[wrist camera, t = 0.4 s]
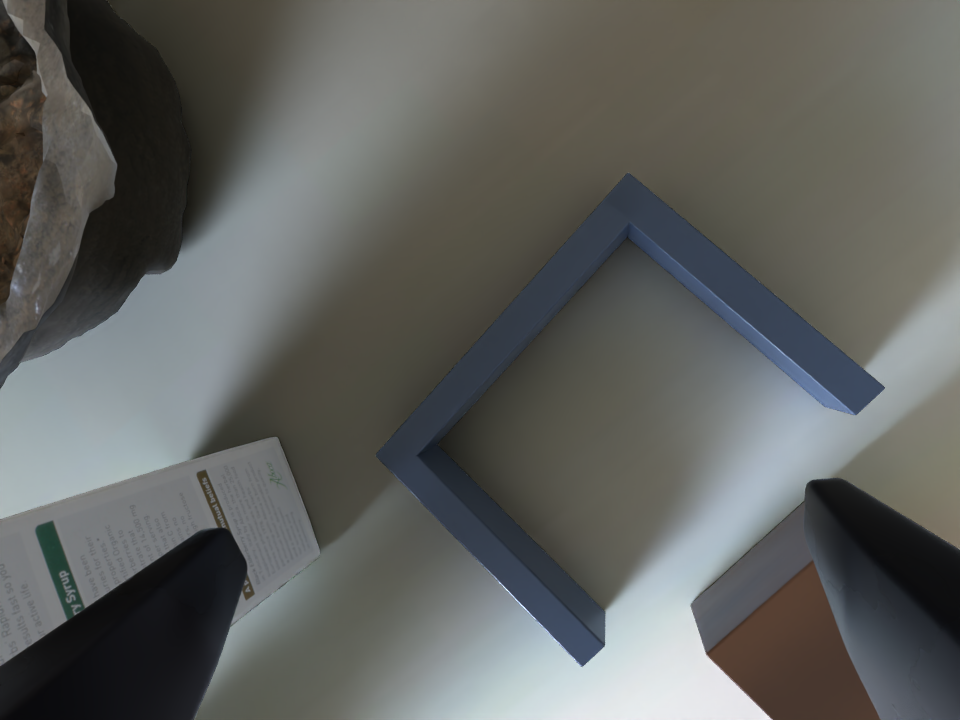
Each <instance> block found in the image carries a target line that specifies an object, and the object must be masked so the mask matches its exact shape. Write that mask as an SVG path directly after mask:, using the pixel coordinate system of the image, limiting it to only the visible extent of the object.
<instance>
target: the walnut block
mask: <svg viewBox="0 0 960 720" xmlns="http://www.w3.org/2000/svg"><path fill="white" fill-rule="evenodd" d="M804 506H805V501H804V502H803V503H802V504H801V505H800V506H799V507H797V508H796V509H795V510H794V511H793V512H792V513H791V514H790V515H789V516H788V517H786V518H785V519H784V520H783V521H782V522H781V523H780V524H779V525H778V526H777V527H775V528H774V529H773V530H772V531H771V532H770V533H769V534H768V535H767V536H765V537H764V538H763V539H762V540H761V541H760V542H759V543H758V544H757V545H756V546H754V547H753V548H752V549H751V550H750V551H749V552H748V553H747V554H746V555H745V556H743V557H742V558H741V559H740V560H739V561H738V562H737V563H736V564H735V565H733V566H732V567H731V568H730V569H729V570H728V571H727V572H726V573H725V574H724V575H722V576H721V577H720V578H719V579H718V580H717V581H716V582H715V583H714V584H712V585H711V586H710V587H709V588H708V589H707V590H706V591H705V592H704V593H703V594H701V595H700V596H699V597H698V598H697V599H696V600H695V601H694V602H693V603H692V604H691V608H692V612H693V615H694V618H695V621H696V624H697V627H698V630H699V633H700V637H701V640H702V643H703V646H704V649H705V652H706V655H707V656H708V657H709V658H710V659H711V660H712V661H713V662H714V663H715V664H716V665H717V666H718V667H719V668H720V669H721V670H722V671H723V672H724V673H725V674H726V675H727V676H728V677H729V678H730V679H731V680H732V681H733V682H734V683H735V684H736V685H737V686H738V687H739V688H740V689H741V690H742V691H744V692H745V693H746V694H747V695H748V696H749V697H750V698H751V699H752V700H753V701H754V702H755V703H756V704H757V705H758V706H759V707H760V708H761V709H762V710H763V711H764V712H765V713H766V714H767V715H768V716H769V717H770V718H771V719H772V720H881V719H880V717H879V715H878V713H877V711H876V709H875V707H874V705H873V703H872V701H871V699H870V697H869V695H868V693H867V691H866V689H865V687H864V685H863V683H862V681H861V679H860V677H859V675H858V673H857V671H856V669H855V667H854V665H853V662H852V660H851V658H850V656H849V654H848V652H847V649H846V647H845V644H844V642H843V639H842V637H841V634H840V631H839V629H838V626H837V623H836V621H835V618H834V615H833V612H832V610H831V607H830V604H829V602H828V599H827V596H826V594H825V591H824V588H823V585H822V583H821V580H820V577H819V575H818V572H817V569H816V567H815V564H814V561H813V558H812V556H811V553H810V550H809V548H808V545H807V542H806V538H805V534H804Z"/></svg>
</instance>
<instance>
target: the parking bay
mask: <svg viewBox="0 0 960 720" xmlns="http://www.w3.org/2000/svg"><path fill="white" fill-rule="evenodd" d="M627 237H628V238H629V239H630V240H631V241H633V242H634V243H635V244H636V245H637V246H638V247H640V248H641V249H642V250H643V251H644V252H645V253H647V254H648V255H649V256H650V257H651V258H652V259H654V260H655V261H656V262H657V263H658V264H659V265H661V266H662V267H663V268H664V269H665V270H666V271H667V272H669V273H670V274H671V275H672V276H673V277H674V278H676V279H677V280H678V281H679V282H680V283H681V284H683V285H684V286H685V287H686V288H687V289H688V290H690V291H691V292H692V293H693V294H694V295H695V296H697V297H698V298H699V299H700V300H701V301H702V302H704V303H705V304H706V305H707V306H708V307H709V308H710V309H712V310H713V311H714V312H715V313H716V314H717V315H719V316H720V317H721V318H722V319H723V320H724V321H726V322H727V323H728V324H729V325H730V326H731V327H733V328H734V329H735V330H736V331H737V332H738V333H740V334H741V335H742V336H743V337H744V338H745V339H747V340H748V341H749V342H750V343H751V344H752V345H754V346H755V347H756V348H757V349H758V350H759V351H760V352H762V353H763V354H764V355H765V356H766V357H767V358H769V359H770V360H771V361H772V362H773V363H774V364H776V365H777V366H778V367H779V368H780V369H781V370H783V371H784V372H785V373H786V374H787V375H788V376H790V377H791V378H792V379H793V380H794V381H795V382H797V383H798V384H799V385H800V386H801V387H802V388H803V389H805V390H806V391H807V392H808V393H809V394H810V395H812V396H813V397H814V398H815V399H816V400H817V401H819V402H820V403H821V404H822V405H823V406H824V407H828V408H831V409H835V410H838V411H842V412H845V413H849V414H852V415H857V414H858V413H859V412H860V411H861V410H862V409H863V408H864V407H866V406H867V405H868V404H869V403H870V402H871V401H872V400H873V399H874V398H875V397H876V396H877V395H879V394H880V393H881V392H882V391H883V390H884V389H885V387H884V386H883V385H882V384H881V383H879V382H878V381H877V380H876V379H875V378H873V377H872V376H871V375H870V374H869V373H867V372H866V371H865V370H864V369H863V368H861V367H860V366H859V365H858V364H857V363H855V362H854V361H853V360H852V359H851V358H850V357H848V356H847V355H846V354H845V353H844V352H842V351H841V350H840V349H839V348H838V347H836V346H835V345H834V344H833V343H832V342H830V341H829V340H828V339H827V338H826V337H824V336H823V335H822V334H821V333H820V332H818V331H817V330H816V329H815V328H814V327H813V326H811V325H810V324H809V323H808V322H807V321H805V320H804V319H803V318H802V317H801V316H799V315H798V314H797V313H796V312H795V311H793V310H792V309H791V308H790V307H789V306H787V305H786V304H785V303H784V302H783V301H781V300H780V299H779V298H778V297H777V296H775V295H774V294H773V293H772V292H771V291H770V290H768V289H767V288H766V287H765V286H764V285H762V284H761V283H760V282H759V281H758V280H756V279H755V278H754V277H753V276H752V275H750V274H749V273H748V272H747V271H746V270H744V269H743V268H742V267H741V266H740V265H738V264H737V263H736V262H735V261H734V260H733V259H731V258H730V257H729V256H728V255H727V254H725V253H724V252H723V251H722V250H721V249H719V248H718V247H717V246H716V245H715V244H713V243H712V242H711V241H710V240H709V239H707V238H706V237H705V236H704V235H703V234H701V233H700V232H699V231H698V230H697V229H695V228H694V227H693V226H692V225H691V224H690V223H688V222H687V221H686V220H685V219H684V218H682V217H681V216H680V215H679V214H678V213H676V212H675V211H674V210H673V209H672V208H670V207H669V206H668V205H667V204H666V203H664V202H663V201H662V200H661V199H660V198H658V197H657V196H656V195H655V194H654V193H653V192H651V191H650V190H649V189H648V188H647V187H645V186H644V185H643V184H642V183H641V182H639V181H638V180H637V179H636V178H635V177H633V176H632V175H631V174H630V173H627V174H626V175H625V176H624V177H623V178H622V180H621V181H620V182H619V183H618V184H617V185H616V186H615V187H614V188H613V190H612V191H611V192H610V193H609V194H608V195H607V196H606V197H605V199H604V200H603V201H602V202H601V203H600V204H599V205H598V207H597V208H596V209H595V210H594V211H593V212H592V213H591V214H590V216H589V217H588V218H587V219H586V220H585V221H584V222H583V223H582V224H581V226H580V227H579V228H578V229H577V230H576V231H575V232H574V233H573V234H572V236H571V237H570V238H569V239H568V240H567V241H566V242H565V243H564V245H563V246H562V247H561V248H560V249H559V250H558V251H557V252H556V253H555V255H554V256H553V257H552V258H551V259H550V260H549V261H548V262H547V264H546V265H545V266H544V267H543V268H542V269H541V270H540V271H539V272H538V274H537V275H536V276H535V277H534V278H533V279H532V280H531V281H530V283H529V284H528V285H527V286H526V287H525V288H524V289H523V290H522V291H521V293H520V294H519V295H518V296H517V297H516V298H515V299H514V300H513V301H512V303H511V304H510V305H509V306H508V307H507V308H506V309H505V310H504V312H503V313H502V314H501V315H500V316H499V317H498V318H497V319H496V320H495V322H494V323H493V324H492V325H491V326H490V327H489V328H488V329H487V331H486V332H485V333H484V334H483V335H482V336H481V337H480V338H479V339H478V341H477V342H476V343H475V344H474V345H473V346H472V347H471V348H470V349H469V351H468V352H467V353H466V354H465V355H464V356H463V357H462V358H461V360H460V361H459V362H458V363H457V364H456V365H455V366H454V367H453V368H452V370H451V371H450V372H449V373H448V374H447V375H446V376H445V377H444V379H443V380H442V381H441V382H440V383H439V384H438V385H437V386H436V387H435V389H434V390H433V391H432V392H431V393H430V394H429V395H428V396H427V398H426V399H425V400H424V401H423V402H422V403H421V404H420V405H419V406H418V408H417V409H416V410H415V411H414V412H413V413H412V414H411V415H410V416H409V418H408V419H407V420H406V421H405V422H404V423H403V424H402V425H401V427H400V428H399V429H398V430H397V431H396V432H395V433H394V434H393V435H392V437H391V438H390V439H389V440H388V441H387V442H386V443H385V444H384V446H383V447H382V448H381V449H380V450H379V451H378V452H377V453H376V457H377V458H378V459H379V460H380V461H381V462H382V463H383V464H384V465H385V466H386V467H387V468H388V469H389V470H390V471H391V472H392V473H393V474H394V475H395V476H396V477H397V478H398V479H399V480H400V482H401V483H402V484H403V485H404V486H405V487H406V488H407V489H408V490H409V491H410V492H411V493H412V494H413V495H414V496H415V497H416V498H417V499H418V500H419V501H420V502H421V503H422V504H423V505H424V506H425V507H426V508H427V509H428V510H429V511H430V512H431V513H432V514H433V515H434V516H435V517H436V518H437V519H438V520H439V521H440V523H441V524H442V525H443V526H444V527H445V528H446V529H447V530H448V531H449V532H450V533H451V534H452V535H453V536H454V537H455V538H456V539H457V540H458V541H459V542H460V543H461V544H462V545H463V546H464V547H465V548H466V549H467V550H468V551H469V552H470V553H471V554H472V555H473V556H474V557H475V558H476V559H477V560H478V561H479V563H480V564H481V565H482V566H483V567H484V568H485V569H486V570H487V571H488V572H489V573H490V574H491V575H492V576H493V577H494V578H495V579H496V580H497V581H498V582H499V583H500V584H501V585H502V586H503V587H504V588H505V589H506V590H507V591H508V592H509V593H510V594H511V595H512V596H513V597H514V598H515V599H516V600H517V601H518V602H519V604H520V605H521V606H522V607H523V608H524V609H525V610H526V611H527V612H528V613H529V614H530V615H531V616H532V617H533V618H534V619H535V620H536V621H537V622H538V623H539V624H540V625H541V626H542V627H543V628H544V629H545V630H546V631H547V632H548V633H549V634H550V635H551V636H552V637H553V638H554V639H555V640H556V641H557V642H558V643H559V645H560V646H561V647H562V648H563V649H564V650H565V651H566V652H567V653H568V654H569V655H570V656H571V657H572V658H573V659H574V660H575V661H576V662H577V663H578V664H579V665H580V666H581V667H582V666H584V665H585V664H586V663H587V662H588V661H589V660H590V659H591V658H593V657H594V656H595V655H596V654H597V653H598V652H599V651H600V650H601V649H602V648H603V647H604V646H605V611H604V610H603V609H602V608H601V607H600V606H599V605H598V604H597V603H596V602H595V601H594V600H593V599H592V598H591V597H590V596H589V595H588V594H587V593H586V592H585V591H584V590H583V589H582V588H581V587H580V586H579V585H578V584H577V583H576V582H575V581H574V580H573V579H572V578H570V577H569V576H568V575H567V574H566V573H565V572H564V571H563V570H562V569H561V568H560V567H559V566H558V565H557V564H556V563H555V562H554V561H553V560H552V559H551V558H550V557H549V556H548V555H547V554H546V553H545V552H544V551H543V550H542V549H541V548H540V547H539V546H538V545H537V544H536V543H535V542H534V541H533V540H532V539H531V538H530V537H529V536H528V535H527V534H526V533H525V532H524V531H523V530H522V529H521V528H520V527H519V526H518V525H517V524H516V523H515V522H514V521H513V520H512V519H511V518H510V517H509V516H508V515H507V514H506V513H505V512H504V511H503V510H502V509H501V508H500V507H499V506H498V505H497V504H496V503H495V502H494V501H493V500H492V499H491V498H490V497H489V496H488V495H487V494H486V493H485V492H484V491H483V490H482V489H481V488H480V487H479V486H478V485H477V484H476V483H475V482H474V481H473V480H472V479H471V478H470V477H469V476H468V475H467V474H466V473H465V472H464V471H463V470H462V469H461V468H460V467H459V466H458V465H457V464H456V463H455V462H454V461H453V460H452V459H451V458H450V457H449V456H448V455H447V454H446V453H445V452H444V451H443V450H442V449H441V448H440V447H439V446H438V445H437V444H438V443H439V442H440V440H441V439H442V438H443V437H444V436H445V435H446V434H447V433H448V432H449V431H450V430H451V428H452V427H453V426H454V425H455V424H456V423H457V422H458V421H459V420H460V419H461V418H462V416H463V415H464V414H465V413H466V412H467V411H468V410H469V409H470V408H471V407H472V406H473V405H474V403H475V402H476V401H477V400H478V399H479V398H480V397H481V396H482V395H483V394H484V393H485V391H486V390H487V389H488V388H489V387H490V386H491V385H492V384H493V383H494V382H495V381H496V379H497V378H498V377H499V376H500V375H501V374H502V373H503V372H504V371H505V370H506V369H507V367H508V366H509V365H510V364H511V363H512V362H513V361H514V360H515V359H516V358H517V357H518V355H519V354H520V353H521V352H522V351H523V350H524V349H525V348H526V347H527V346H528V345H529V344H530V342H531V341H532V340H533V339H534V338H535V337H536V336H537V335H538V334H539V333H540V332H541V330H542V329H543V328H544V327H545V326H546V325H547V324H548V323H549V322H550V321H551V320H552V318H553V317H554V316H555V315H556V314H557V313H558V312H559V311H560V310H561V309H562V308H563V306H564V305H565V304H566V303H567V302H568V301H569V300H570V299H571V298H572V297H573V296H574V295H575V293H576V292H577V291H578V290H579V289H580V288H581V287H582V286H583V285H584V284H585V283H586V281H587V280H588V279H589V278H590V277H591V276H592V275H593V274H594V273H595V272H596V271H597V269H598V268H599V267H600V266H601V265H602V264H603V263H604V262H605V261H606V260H607V259H608V257H609V256H610V255H611V254H612V253H613V252H614V251H615V250H616V249H617V248H618V247H619V246H620V244H621V243H622V242H623V241H624V240H625V239H626V238H627Z"/></svg>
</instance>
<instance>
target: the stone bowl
mask: <svg viewBox="0 0 960 720" xmlns="http://www.w3.org/2000/svg"><path fill="white" fill-rule="evenodd" d="M181 113H182V110H181V103H180V97H179V94H178V90H177V86H176V83H175V80H174V78H173V77H172V75H171V73H170V71H169V69H168V68H167V66H166V65H165V63H164V62H163V60H162V58H161V57H160V55H159V53H158V50H157V49H156V48H155V47H153V46H152V45H151V44H150V43H149V42H147V41H146V40H145V39H144V38H142V37H141V36H140V35H139V34H137V33H136V32H135V31H134V30H133V29H132V28H131V27H130V26H129V25H128V24H127V23H126V22H125V21H123V20H122V19H121V18H120V17H119V16H117V15H116V13H115V12H114V11H113V10H112V8H111V7H110V5H109V3H108V2H107V1H106V0H0V388H1V387H2V386H3V384H4V382H5V380H6V378H7V376H8V375H9V374H10V373H11V372H13V371H14V370H15V369H16V368H17V367H18V365H19V364H20V363H21V362H24V361H27V360H31V359H34V358H37V357H40V356H43V355H46V354H48V353H50V352H52V351H53V350H56V349H59V348H60V347H62V346H63V345H64V344H65V343H66V342H67V341H68V340H70V339H72V338H74V337H77V336H81V335H82V334H84V333H85V332H86V331H88V330H90V329H92V328H94V327H96V326H97V325H99V324H100V323H102V322H104V321H105V320H107V319H108V318H109V317H110V316H112V315H113V314H115V313H116V312H118V310H119V309H120V307H121V306H122V304H123V303H124V302H125V300H126V299H127V297H128V296H129V294H130V293H131V292H132V291H133V289H134V288H135V287H136V286H137V284H138V283H139V281H140V279H141V278H142V277H143V276H144V275H145V274H161V273H163V272H165V271H167V270H169V269H171V268H172V266H173V265H174V264H175V262H176V261H177V257H178V254H179V251H180V247H181V242H182V217H183V211H184V209H185V208H186V204H187V183H188V179H189V174H190V158H191V147H190V144H189V141H188V138H187V135H186V133H185V130H184V128H183V126H182V123H181Z"/></svg>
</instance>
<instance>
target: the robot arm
mask: <svg viewBox="0 0 960 720" xmlns="http://www.w3.org/2000/svg"><path fill="white" fill-rule="evenodd" d="M804 534H805V538H806V542H807V545H808V548H809V550H810V553H811V556H812V558H813V561H814V564H815V567H816V569H817V572H818V575H819V577H820V580H821V583H822V585H823V588H824V591H825V594H826V596H827V599H828V602H829V604H830V607H831V610H832V612H833V615H834V618H835V621H836V623H837V626H838V629H839V631H840V634H841V637H842V639H843V642H844V644H845V647H846V649H847V652H848V654H849V656H850V658H851V660H852V662H853V665H854V667H855V669H856V671H857V673H858V675H859V677H860V679H861V681H862V683H863V685H864V687H865V689H866V691H867V693H868V695H869V697H870V699H871V701H872V703H873V705H874V707H875V709H876V711H877V713H878V715H879V717H880V719H881V720H960V549H958V548H956V547H955V546H953V545H951V544H950V543H948V542H946V541H945V540H943V539H941V538H940V537H938V536H936V535H935V534H933V533H932V532H930V531H928V530H927V529H925V528H923V527H922V526H920V525H918V524H917V523H915V522H913V521H912V520H910V519H909V518H907V517H905V516H904V515H902V514H900V513H899V512H897V511H895V510H894V509H892V508H890V507H889V506H887V505H885V504H884V503H882V502H881V501H879V500H877V499H876V498H874V497H872V496H871V495H869V494H867V493H866V492H864V491H862V490H861V489H859V488H858V487H856V486H854V485H853V484H851V483H849V482H848V481H846V480H844V479H841V478H830V479H817V480H811V481H809V482H808V483H807V486H806V489H805V506H804ZM247 571H248V568H247V562H246V559H245V557H244V555H243V554H242V552H241V550H240V548H239V546H238V544H237V543H236V541H235V539H234V537H233V535H232V534H231V532H230V531H229V530H228V529H226V528H223V527H218V528H206V529H202V530H200V531H198V532H196V533H195V534H194V535H192V536H191V537H189V538H188V539H186V540H185V541H183V542H182V543H180V544H179V545H177V546H176V547H174V548H173V549H171V550H170V551H169V552H167V553H166V554H164V555H163V556H161V557H160V558H158V559H157V560H155V561H154V562H152V563H151V564H149V565H148V566H146V567H145V568H144V569H142V570H141V571H139V572H138V573H136V574H135V575H133V576H132V577H130V578H129V579H127V580H126V581H124V582H123V583H121V584H120V585H119V586H117V587H116V588H114V589H113V590H111V591H110V592H108V593H107V594H105V595H104V596H102V597H101V598H99V599H98V600H96V601H95V602H94V603H92V604H91V605H89V606H88V607H86V608H85V609H83V610H82V611H80V612H79V613H77V614H76V615H74V616H73V617H71V618H70V619H69V620H67V621H66V622H64V623H63V624H61V625H60V626H58V627H57V628H55V629H54V630H52V631H51V632H49V633H48V634H46V635H45V636H43V637H42V638H41V639H39V640H38V641H36V642H35V643H33V644H32V645H30V646H29V647H27V648H26V649H24V650H23V651H21V652H20V653H18V654H17V655H16V656H14V657H13V658H11V659H10V660H8V661H7V662H5V663H4V664H2V665H1V666H0V720H194V719H195V716H196V714H197V712H198V709H199V707H200V705H201V702H202V700H203V698H204V695H205V693H206V691H207V688H208V686H209V684H210V682H211V679H212V677H213V674H214V672H215V669H216V667H217V664H218V661H219V658H220V656H221V653H222V650H223V647H224V644H225V641H226V638H227V635H228V632H229V629H230V626H231V623H232V620H233V617H234V614H235V611H236V607H237V604H238V601H239V598H240V595H241V592H242V589H243V586H244V583H245V580H246V577H247Z"/></svg>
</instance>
